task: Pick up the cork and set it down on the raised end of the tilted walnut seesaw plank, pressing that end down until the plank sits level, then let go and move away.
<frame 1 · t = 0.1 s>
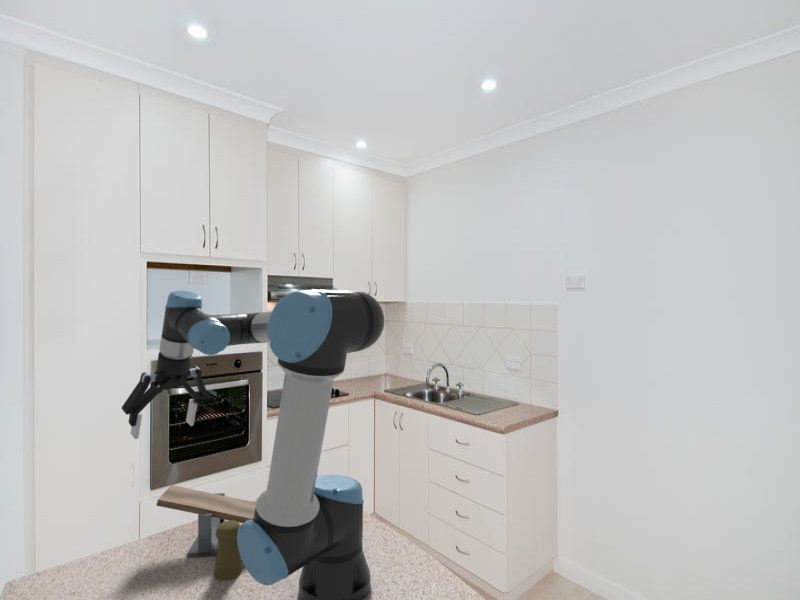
hand: (163, 429, 113), 28 cm above the countertop, tool tilted 20°, fingers open, 13 cm apart
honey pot: (295, 516, 125), on the countertop
seesaw plank: (212, 506, 111), point 9 cm above the countertop, hinge at 15.0°
seesaw stand: (212, 543, 111), on the countertop
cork: (228, 572, 100), on the countertop
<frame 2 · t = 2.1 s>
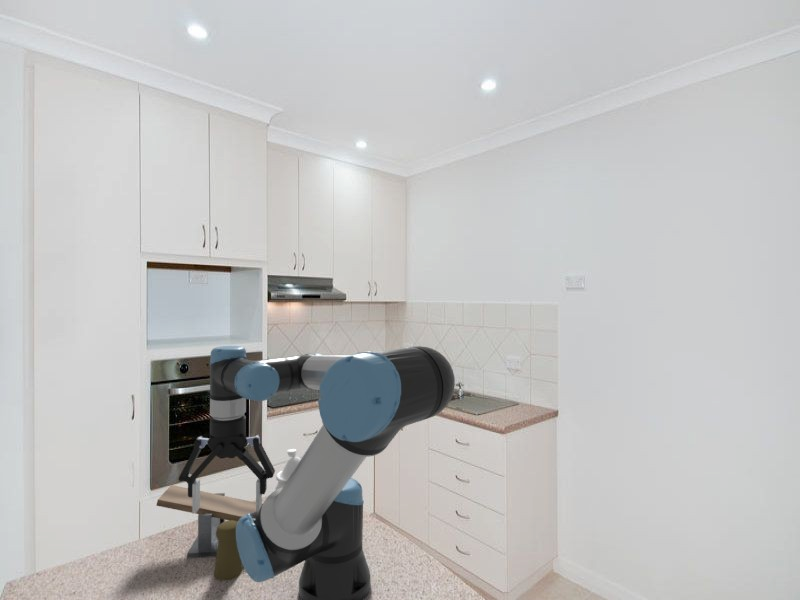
hand: (227, 509, 100), 14 cm above the countertop, tool pointing down, fingers open, 13 cm apart
nothing on the countertop moved.
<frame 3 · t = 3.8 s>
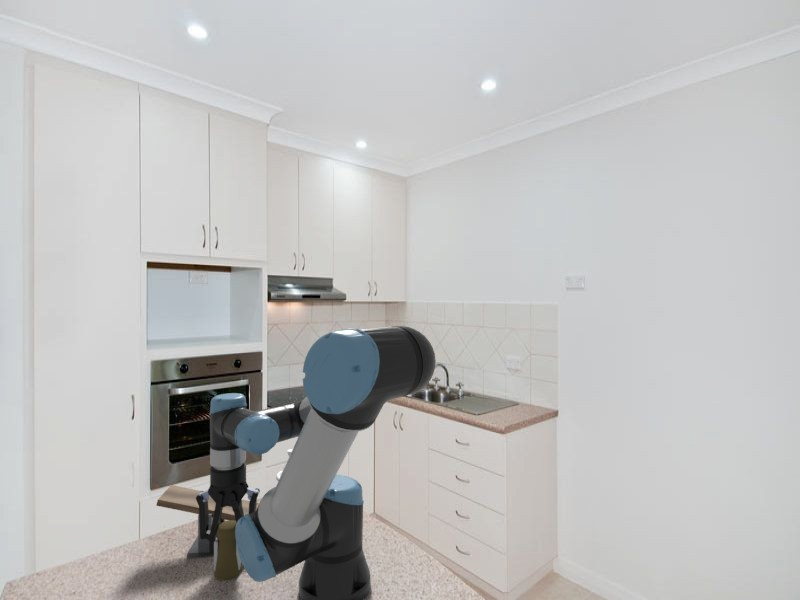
hand: (228, 566, 100), 1 cm above the countertop, tool pointing down, fingers closed on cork, 4 cm apart
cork: (228, 572, 100), on the countertop, touching gripper
everything else where it was.
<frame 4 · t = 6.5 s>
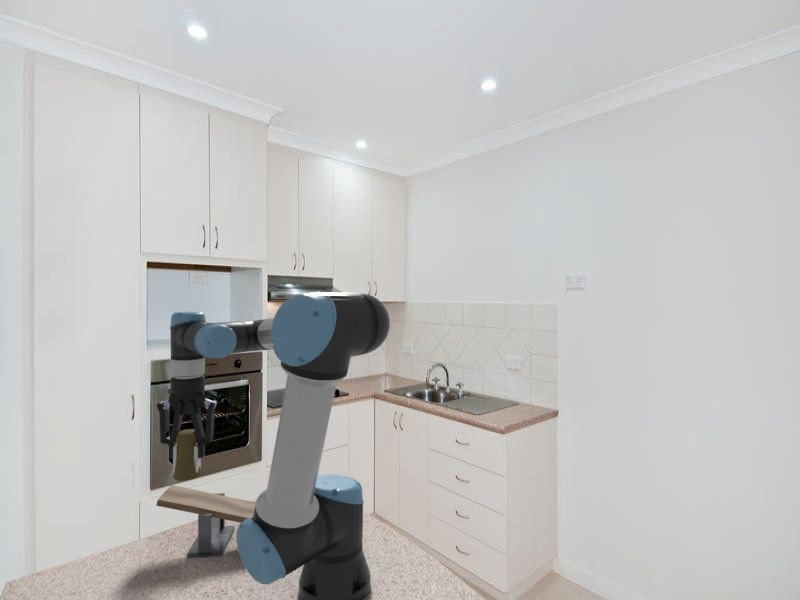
hand: (187, 470, 108), 19 cm above the countertop, tool pointing down, fingers closed on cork, 4 cm apart
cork: (187, 476, 108), point 18 cm above the countertop, touching gripper
everything else where it was.
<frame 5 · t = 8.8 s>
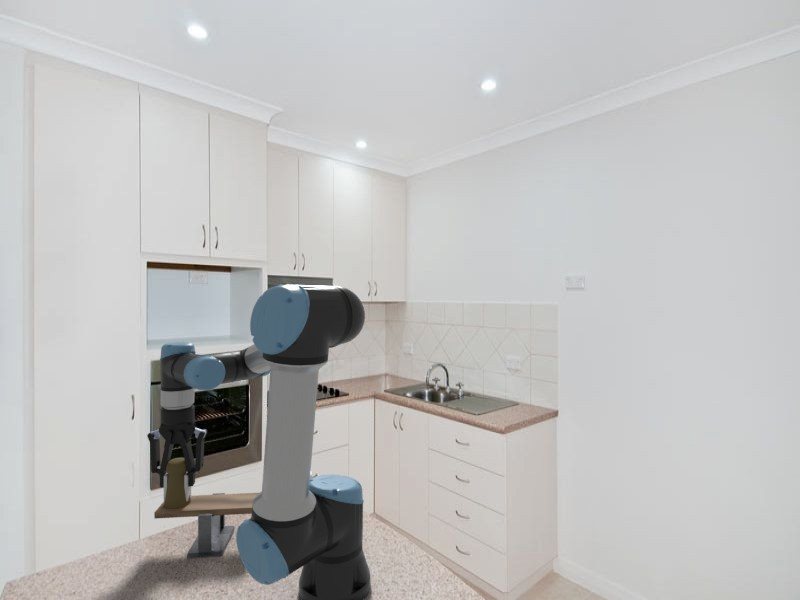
hand: (177, 499, 110), 12 cm above the countertop, tool pointing down, fingers closed on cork, 4 cm apart
seesaw plank: (212, 506, 111), point 9 cm above the countertop, hinge at 0.1°, touching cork
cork: (177, 504, 110), point 10 cm above the countertop, touching gripper, seesaw plank
everything else where it was.
when the fingers open (12 cm above the countertop, at t = 9.1 s): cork stays where it is, resting on seesaw plank.
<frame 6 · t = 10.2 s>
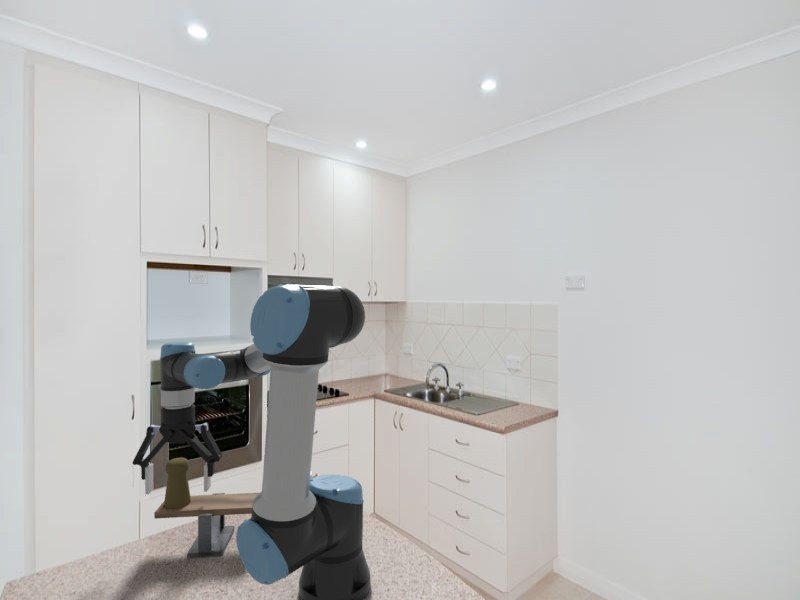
hand: (178, 490, 110), 14 cm above the countertop, tool pointing down, fingers open, 13 cm apart
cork: (177, 504, 110), point 10 cm above the countertop, touching seesaw plank
everything else where it was.
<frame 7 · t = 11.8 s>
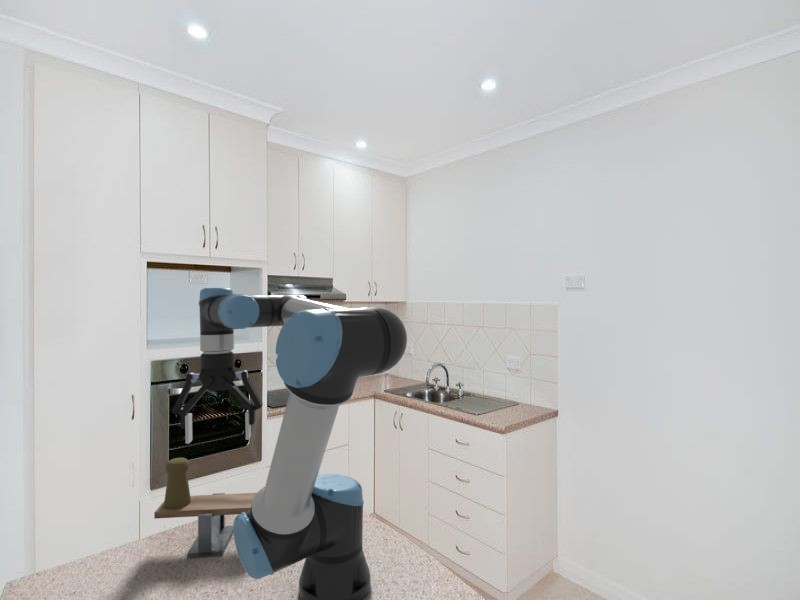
hand: (218, 440, 107), 27 cm above the countertop, tool pointing down, fingers open, 13 cm apart
nothing on the countertop moved.
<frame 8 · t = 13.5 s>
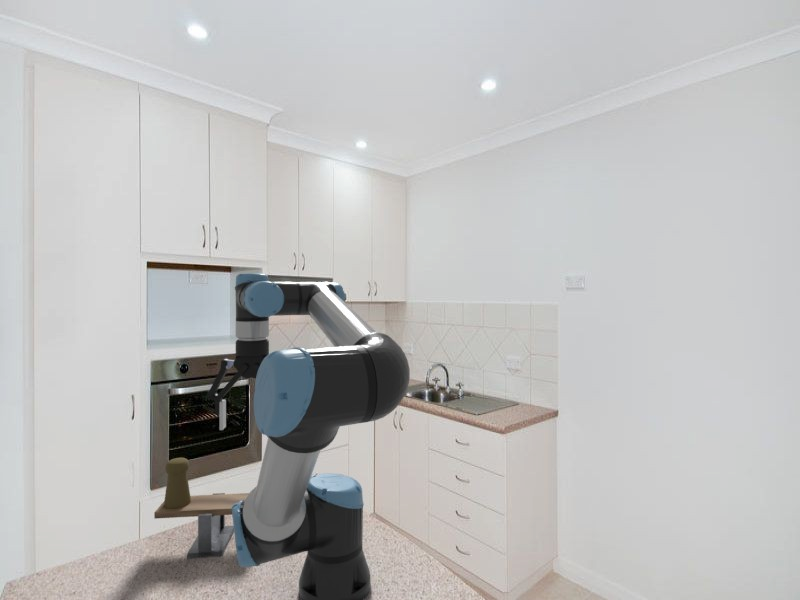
hand: (252, 427, 106), 31 cm above the countertop, tool pointing down, fingers open, 13 cm apart
nothing on the countertop moved.
at the end: seesaw plank at +0° (first picture: +15°); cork inside the target area on the seesaw plank (0.2 cm from its centre), point 1.3 cm above the seesaw plank's base; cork tilted 0° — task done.
